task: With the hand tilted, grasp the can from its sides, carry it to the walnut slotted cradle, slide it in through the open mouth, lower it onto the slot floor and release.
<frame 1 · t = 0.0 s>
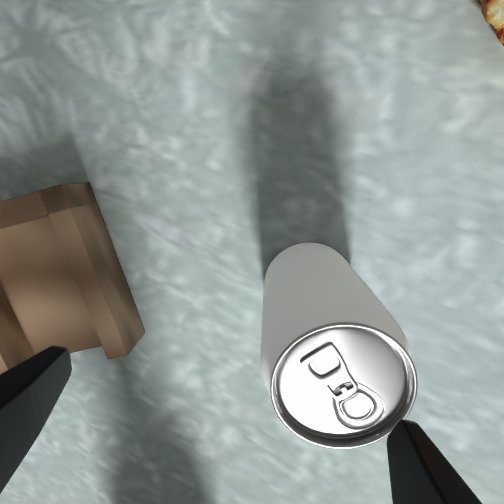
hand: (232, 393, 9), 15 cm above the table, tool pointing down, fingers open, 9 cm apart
cradle: (55, 277, 25), on the table
can: (307, 282, 24), on the table
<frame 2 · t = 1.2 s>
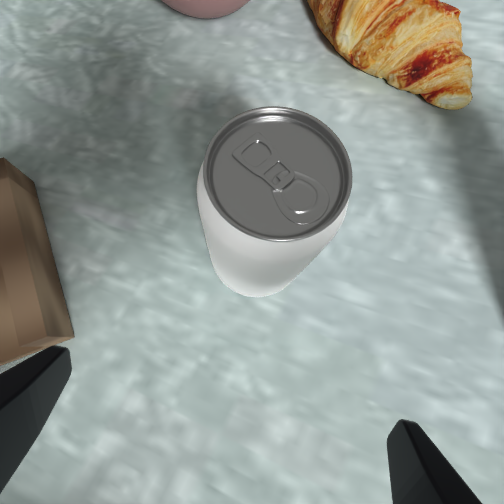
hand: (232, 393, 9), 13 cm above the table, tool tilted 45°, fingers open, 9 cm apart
croissant: (367, 42, 30), on the table
can: (255, 254, 24), on the table
mortar and pestle: (206, 2, 30), on the table
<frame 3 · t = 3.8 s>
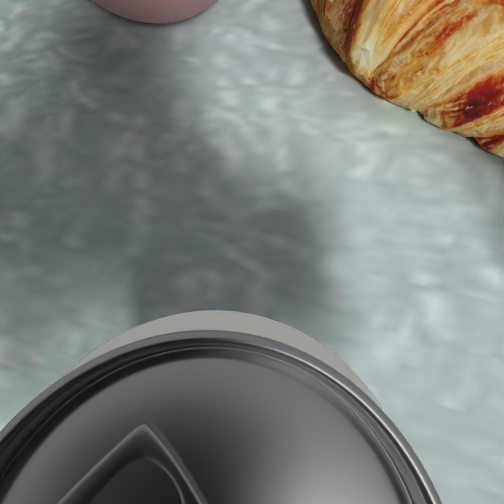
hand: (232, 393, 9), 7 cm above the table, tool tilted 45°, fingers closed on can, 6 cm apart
croissant: (393, 58, 21), on the table
can: (225, 402, 15), on the table, touching gripper
mortar and pestle: (164, 0, 21), on the table
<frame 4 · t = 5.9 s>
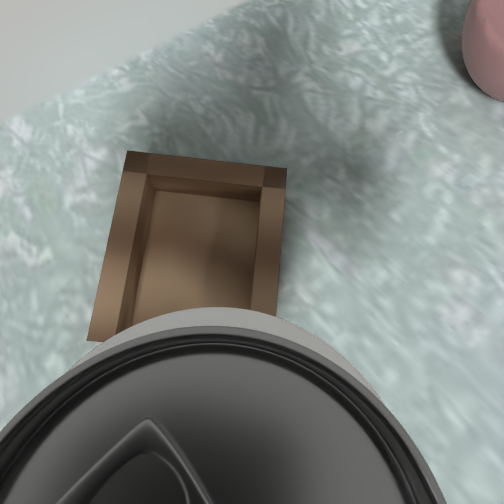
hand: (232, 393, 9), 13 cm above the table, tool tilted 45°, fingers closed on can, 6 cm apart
cradle: (200, 259, 23), on the table
can: (226, 401, 15), point 6 cm above the table, touching gripper
mortar and pestle: (495, 79, 29), on the table
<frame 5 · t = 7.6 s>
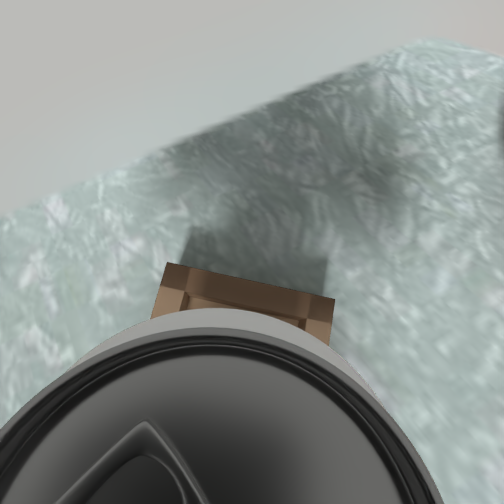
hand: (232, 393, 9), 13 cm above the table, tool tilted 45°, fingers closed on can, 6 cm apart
cradle: (229, 377, 21), on the table
can: (225, 401, 15), point 7 cm above the table, touching gripper
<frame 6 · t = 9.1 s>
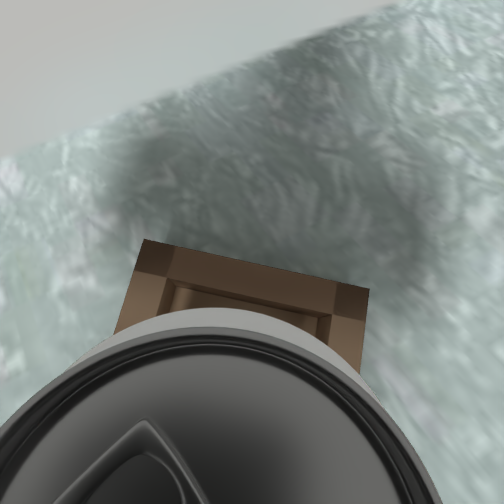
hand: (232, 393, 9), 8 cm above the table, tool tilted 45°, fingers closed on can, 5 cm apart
cradle: (227, 391, 16), on the table
can: (225, 401, 15), point 1 cm above the table, touching gripper
when the fingers open (8 cm above the table, at t = 9.3 s): can stays where it is, resting on cradle.
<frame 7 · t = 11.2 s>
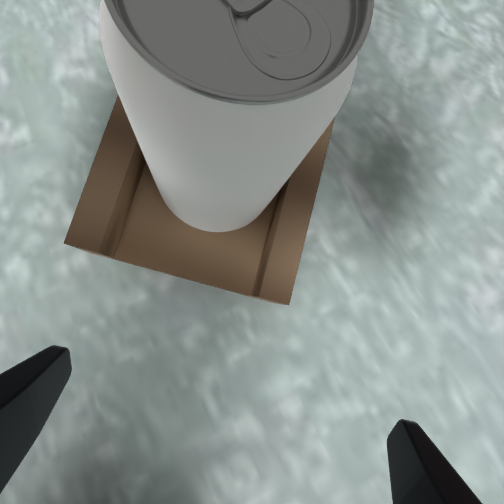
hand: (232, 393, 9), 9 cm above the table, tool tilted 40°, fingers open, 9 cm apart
cradle: (214, 179, 19), on the table
can: (216, 178, 18), point 1 cm above the table, touching cradle
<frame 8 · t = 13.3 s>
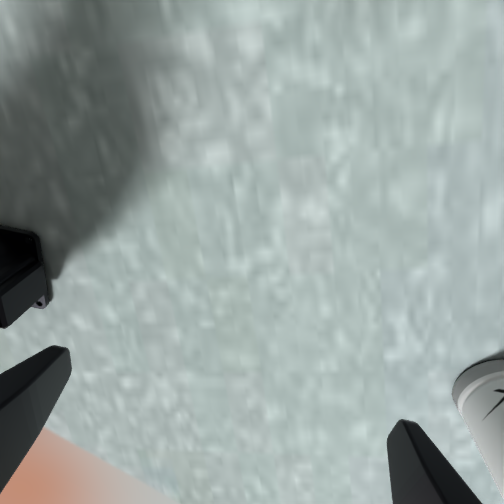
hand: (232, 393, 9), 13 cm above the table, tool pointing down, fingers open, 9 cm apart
travel mug: (491, 384, 25), on the table
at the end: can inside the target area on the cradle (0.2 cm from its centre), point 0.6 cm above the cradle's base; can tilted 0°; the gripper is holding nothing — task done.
